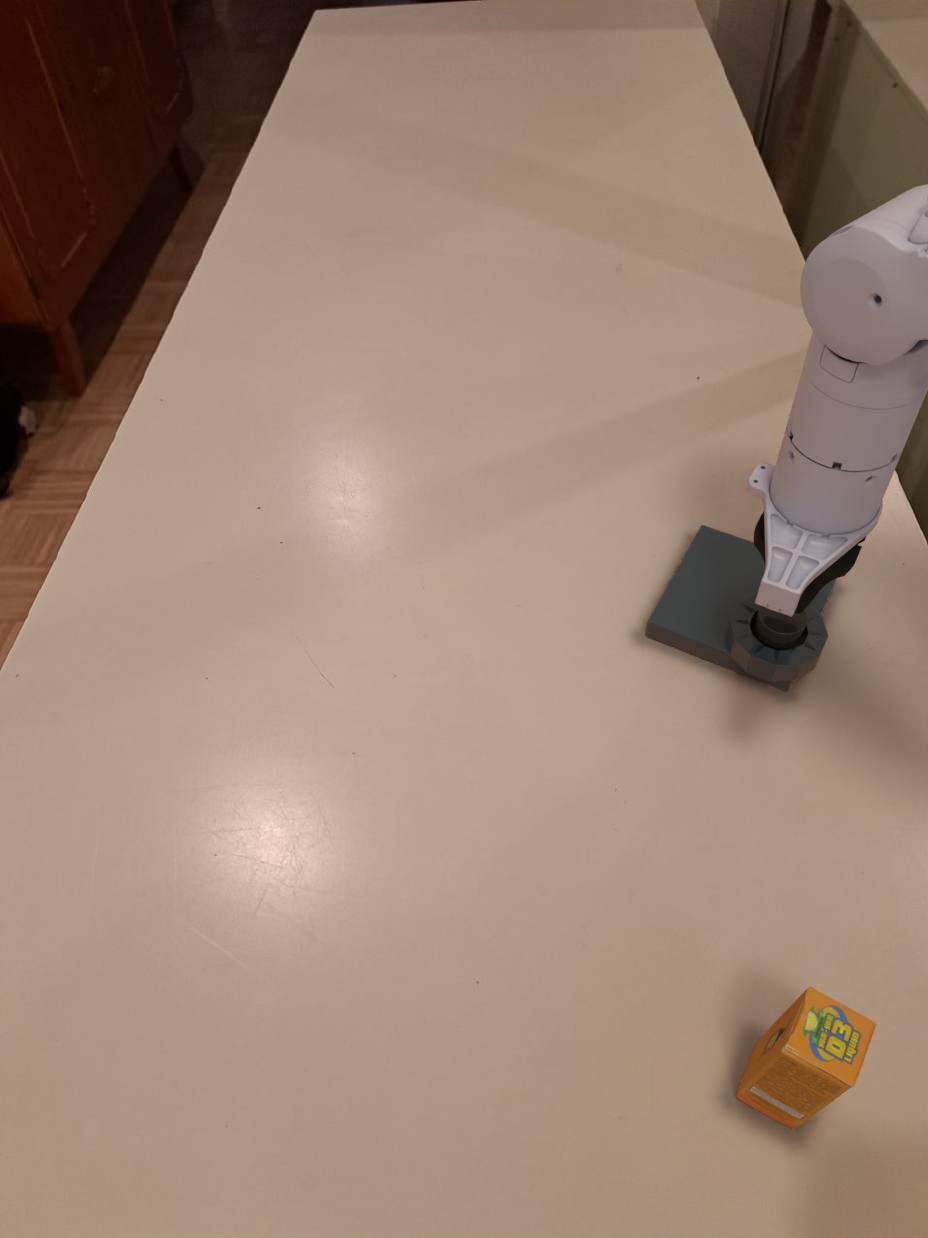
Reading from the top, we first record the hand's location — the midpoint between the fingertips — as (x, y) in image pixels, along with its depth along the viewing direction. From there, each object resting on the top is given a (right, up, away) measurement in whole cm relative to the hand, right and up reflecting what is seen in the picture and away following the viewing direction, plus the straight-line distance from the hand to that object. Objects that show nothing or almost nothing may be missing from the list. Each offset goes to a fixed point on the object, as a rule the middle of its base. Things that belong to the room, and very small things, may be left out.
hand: (787, 600), depth 59 cm
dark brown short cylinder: (0, -2, +3) cm, 3 cm away
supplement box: (-4, -25, -11) cm, 27 cm away
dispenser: (-1, -1, +7) cm, 8 cm away
